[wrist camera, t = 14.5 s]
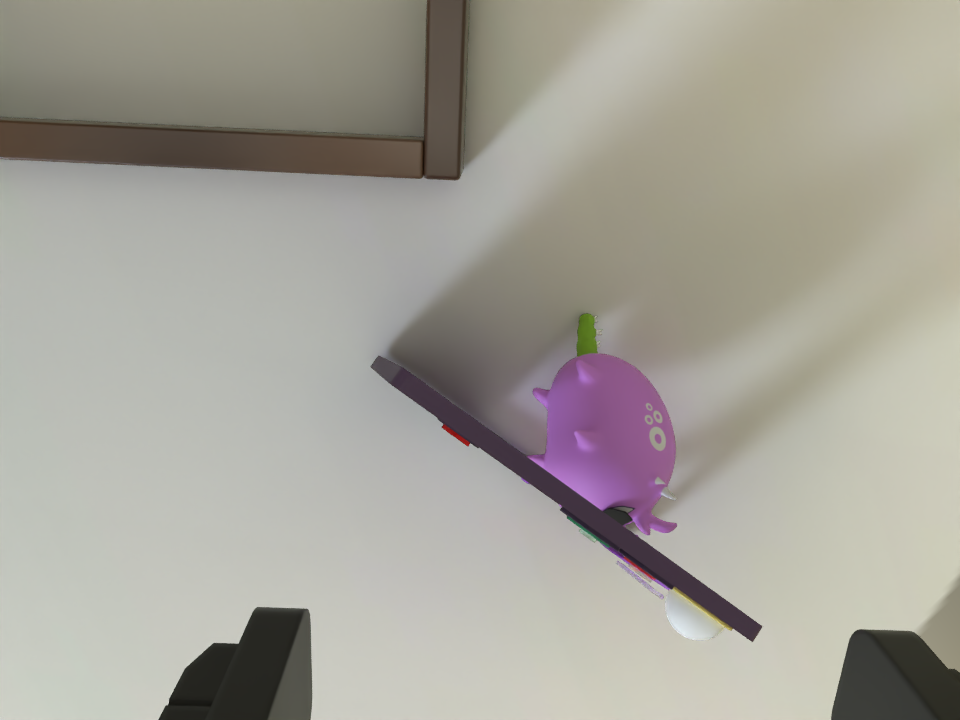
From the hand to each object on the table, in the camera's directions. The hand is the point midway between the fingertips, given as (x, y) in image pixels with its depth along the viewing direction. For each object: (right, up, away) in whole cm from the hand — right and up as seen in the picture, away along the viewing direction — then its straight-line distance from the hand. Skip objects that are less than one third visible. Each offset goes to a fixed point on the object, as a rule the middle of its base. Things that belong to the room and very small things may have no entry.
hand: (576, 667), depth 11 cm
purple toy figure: (+1, +4, +9) cm, 10 cm away
